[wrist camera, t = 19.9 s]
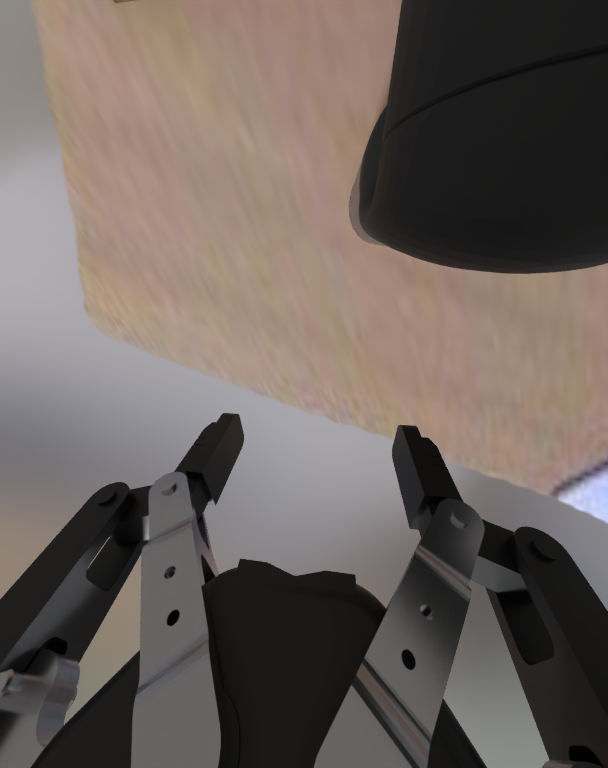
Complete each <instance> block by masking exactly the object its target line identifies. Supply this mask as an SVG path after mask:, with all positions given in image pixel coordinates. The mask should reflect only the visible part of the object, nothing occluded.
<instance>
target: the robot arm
mask: <svg viewBox="0 0 608 768" xmlns="http://www.w3.org/2000/svg"><path fill="white" fill-rule="evenodd" d="M349 215H350V220H351V224H352V226H353V229H354V230H355V232H356V233H357V235H358V236H359V237H361V238H362V239H363V240H365V241H367V242H369V243H372V244H376V245H382V246H388V247H390V248H392V249H395V250H397V251H400V252H402V253H405V254H407V255H410V256H412V257H415V258H418V259H421V260H424V261H427V262H431V263H435V264H439V265H443V266H448V267H453V268H459V269H466V270H476V271H486V272H496V273H514V274H530V273H549V272H561V271H570V270H576V269H583V268H589V267H594V266H598V265H602V264H606V263H608V0H402V5H401V12H400V19H399V26H398V33H397V40H396V47H395V54H394V61H393V68H392V75H391V82H390V89H389V96H388V103H387V106H386V107H385V109H384V110H383V112H382V114H381V115H380V117H379V119H378V121H377V123H376V125H375V127H374V129H373V131H372V134H371V136H370V139H369V141H368V144H367V147H366V150H365V153H364V156H363V159H362V162H361V165H360V168H359V172H358V175H357V178H356V181H355V183H354V186H353V189H352V192H351V196H350V202H349ZM243 443H244V434H243V429H242V425H241V420H240V417H239V414H230V413H223V414H222V415H221V416H220V418H219V420H218V421H217V423H216V422H213V423H211V424H210V425H208V426H207V427H206V428H205V429H204V430H203V431H202V432H201V434H200V436H199V437H198V439H197V440H196V441H195V443H194V445H193V446H192V447H191V448H190V450H189V451H188V453H187V454H186V456H185V457H184V459H183V460H182V461H181V463H180V464H179V466H178V467H177V469H176V470H175V471H174V472H172V473H169V474H166V475H164V476H162V477H161V478H159V479H158V480H157V481H156V482H155V483H154V484H153V485H151V486H146V487H141V488H136V489H131V490H130V488H129V487H128V485H127V484H125V483H122V482H116V483H113V484H109V485H107V486H105V487H103V488H101V489H100V490H99V491H97V492H96V493H95V494H93V495H92V497H91V498H90V499H89V500H88V501H87V502H86V503H85V504H84V505H83V507H82V508H81V509H80V510H79V511H78V512H77V513H76V514H75V516H74V517H73V518H72V519H71V520H70V521H69V522H68V524H67V525H66V526H65V527H64V528H63V529H62V530H61V532H60V533H59V534H58V535H57V536H56V537H55V538H54V539H53V541H52V542H51V543H50V544H49V545H48V546H47V547H46V548H45V550H44V551H43V552H42V553H41V554H40V555H39V556H38V557H37V559H36V560H35V561H34V562H33V563H32V564H31V566H30V567H29V568H28V569H27V570H26V571H25V572H24V573H23V574H22V576H21V577H20V578H19V579H18V580H17V581H16V582H15V584H14V585H13V586H12V587H11V588H10V589H9V590H8V591H7V593H6V594H5V595H4V596H3V597H2V598H1V599H0V768H487V767H486V765H485V764H484V762H483V761H482V759H481V758H480V756H479V754H478V753H477V751H476V749H475V748H474V746H473V745H472V743H471V742H470V740H469V738H468V737H467V735H466V734H465V732H464V730H463V729H462V727H461V726H460V724H459V723H458V721H457V720H456V718H455V716H454V715H453V713H452V711H451V710H450V708H449V707H448V705H447V704H446V702H445V700H444V699H443V695H444V692H445V689H446V685H447V681H448V678H449V674H450V671H451V667H452V664H453V660H454V656H455V653H456V649H457V645H458V642H459V638H460V635H461V631H462V628H463V624H464V621H465V617H466V613H467V610H468V606H469V603H470V598H471V589H470V588H469V583H470V580H472V581H474V582H476V583H478V584H480V585H482V586H484V587H485V588H486V590H487V593H488V595H489V598H490V601H491V604H492V606H493V609H494V612H495V615H496V617H497V620H498V623H499V625H500V628H501V631H502V633H503V636H504V639H505V641H506V644H507V647H508V649H509V652H510V655H511V658H512V660H513V663H514V666H515V668H516V671H517V674H518V676H519V679H520V682H521V684H522V687H523V690H524V693H525V695H526V698H527V700H528V703H529V706H530V709H531V711H532V714H533V717H534V719H535V722H536V724H537V728H538V730H539V732H540V736H541V738H542V741H543V743H544V746H545V749H546V752H547V754H548V757H549V761H548V762H546V763H545V764H544V765H543V766H542V768H608V611H607V610H606V608H605V607H604V605H603V604H602V602H601V601H600V599H599V598H598V596H597V595H596V593H595V592H594V590H593V589H592V587H591V586H590V584H589V583H588V581H587V580H586V579H585V577H584V576H583V574H582V573H581V571H580V570H579V568H578V567H577V565H576V564H575V562H574V561H573V559H572V558H571V556H570V555H569V554H568V552H567V551H566V550H565V549H564V547H563V546H562V545H561V544H560V543H558V542H557V541H556V540H555V539H554V538H552V537H550V536H549V535H548V534H546V533H544V532H542V531H540V530H538V529H535V528H531V527H520V528H518V529H517V530H516V531H515V532H512V531H510V530H507V529H504V528H502V527H500V526H497V525H494V524H492V523H489V522H487V521H485V520H483V519H481V517H480V516H479V515H478V513H476V511H475V510H474V509H473V508H471V507H470V506H469V505H467V504H466V503H464V502H463V500H462V499H461V497H460V494H459V492H458V490H457V488H456V486H455V484H454V482H453V479H452V478H451V475H450V473H449V471H448V469H447V467H446V465H445V463H444V460H443V459H442V456H441V454H440V452H439V450H438V448H437V446H436V445H435V444H434V443H433V442H432V441H431V440H430V439H429V438H423V437H421V435H420V432H419V430H418V428H417V427H416V426H409V425H399V426H398V428H397V432H396V436H395V440H394V444H393V448H392V458H393V463H394V467H395V471H396V475H397V478H398V482H399V487H400V491H401V495H402V499H403V503H404V506H405V511H406V515H407V519H408V523H409V527H410V529H417V530H419V532H420V535H421V540H420V542H419V544H418V546H417V548H416V550H415V552H414V554H413V556H412V558H411V560H410V562H409V564H408V566H407V568H406V570H405V572H404V574H403V576H402V578H401V580H400V582H399V585H398V586H397V588H396V590H395V592H394V594H393V596H392V598H391V600H390V603H389V604H388V607H387V608H385V607H384V606H383V605H382V604H381V602H379V600H378V599H377V598H376V597H375V596H374V595H372V594H371V593H370V592H369V591H367V590H366V589H364V588H363V587H361V586H359V585H357V584H356V578H355V575H353V574H346V573H339V572H331V571H322V572H316V573H310V574H305V575H299V576H293V575H291V574H289V573H287V572H285V571H283V570H281V569H279V568H277V567H275V566H273V565H271V564H269V563H267V562H260V561H253V560H246V559H240V561H239V564H238V567H237V568H234V569H230V570H227V571H225V572H223V573H221V574H219V573H218V570H217V566H216V563H215V560H214V558H213V554H212V549H211V545H210V540H209V535H208V530H207V526H206V521H205V516H204V513H203V512H204V510H205V508H206V506H207V505H216V504H217V502H218V499H219V497H220V495H221V493H222V491H223V488H224V486H225V484H226V482H227V480H228V477H229V475H230V473H231V471H232V468H233V466H234V464H235V462H236V460H237V458H238V455H239V453H240V451H241V449H242V446H243ZM108 537H110V538H109V540H108V541H107V542H106V544H105V545H104V543H105V541H106V540H107V539H108ZM103 545H104V547H103V548H102V550H101V551H100V552H99V550H100V549H101V547H102V546H103ZM98 552H99V554H98V555H97V557H96V558H95V559H94V557H95V556H96V554H97V553H98ZM141 553H142V560H141V561H142V562H141V621H140V650H139V651H138V652H137V653H136V654H135V655H134V656H133V657H132V658H131V659H130V660H129V661H128V662H127V663H126V664H125V665H124V666H123V667H122V668H121V669H120V670H119V671H118V672H117V673H116V674H115V675H114V676H113V677H112V678H111V679H110V680H109V681H108V682H107V683H106V684H105V685H104V686H103V687H102V688H101V689H100V690H99V691H98V692H97V693H96V694H95V695H94V696H93V697H92V698H91V699H90V700H89V701H88V702H87V703H86V704H85V705H84V706H83V707H82V708H81V709H80V710H79V711H78V712H77V713H76V714H75V715H74V716H73V717H72V718H71V719H70V720H69V721H68V722H67V723H66V724H65V725H64V719H65V715H66V711H67V710H68V709H69V708H70V707H71V705H72V704H73V702H74V700H75V697H76V695H77V684H78V680H79V675H80V668H79V662H80V660H81V659H82V657H83V655H84V653H85V651H86V650H87V648H88V646H89V644H90V643H91V641H92V639H93V637H94V636H95V634H96V632H97V630H98V629H99V627H100V625H101V623H102V621H103V620H104V618H105V616H106V614H107V612H108V611H109V609H110V607H111V605H112V604H113V602H114V600H115V599H116V597H117V595H118V593H119V592H120V590H121V588H122V586H123V584H124V583H125V581H126V579H127V578H128V576H129V574H130V572H131V570H132V569H133V567H134V565H135V563H136V562H137V560H138V558H139V556H140V555H141ZM93 559H94V561H93V562H92V564H91V565H90V563H91V561H92V560H93ZM89 565H90V567H89ZM88 567H89V568H88Z"/></svg>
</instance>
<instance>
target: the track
mask: <svg viewBox="0 0 608 768" xmlns="http://www.w3.org/2000/svg"><path fill="white" fill-rule="evenodd" d="M113 1H114V2H115V3H119V2H126V1H133V0H113Z"/></svg>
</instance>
